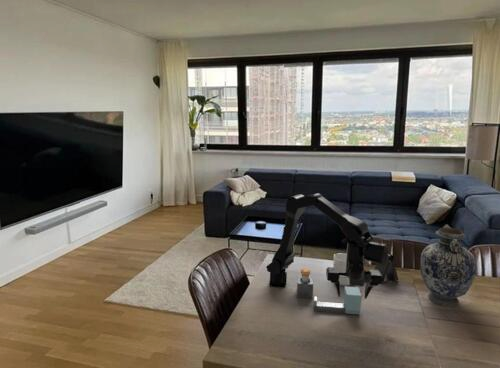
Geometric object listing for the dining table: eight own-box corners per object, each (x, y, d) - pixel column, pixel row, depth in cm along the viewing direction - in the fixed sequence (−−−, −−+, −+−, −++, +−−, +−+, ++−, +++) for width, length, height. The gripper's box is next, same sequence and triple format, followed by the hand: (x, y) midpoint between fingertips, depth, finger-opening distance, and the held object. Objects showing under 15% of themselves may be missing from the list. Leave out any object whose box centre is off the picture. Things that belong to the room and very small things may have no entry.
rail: (313, 310, 128) (314, 300, 128) (313, 306, 131) (313, 296, 131) (359, 314, 127) (359, 303, 126) (357, 309, 130) (358, 299, 129)
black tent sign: (379, 283, 150) (382, 256, 148) (371, 276, 156) (373, 251, 153) (398, 280, 152) (400, 254, 150) (389, 274, 158) (392, 249, 155)
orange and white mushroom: (300, 289, 138) (300, 272, 137) (300, 284, 141) (300, 268, 140) (309, 289, 137) (310, 273, 136) (309, 285, 141) (310, 268, 140)
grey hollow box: (296, 297, 137) (297, 283, 136) (296, 290, 143) (297, 276, 142) (312, 298, 137) (313, 284, 136) (311, 291, 143) (312, 277, 141)
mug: (358, 284, 148) (360, 259, 146) (340, 288, 145) (341, 262, 143) (342, 272, 159) (343, 249, 157) (324, 275, 156) (326, 251, 154)
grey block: (345, 313, 126) (346, 294, 124) (343, 305, 131) (344, 286, 130) (360, 315, 125) (361, 295, 124) (357, 305, 131) (358, 287, 129)
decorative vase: (478, 318, 124) (488, 242, 119) (420, 309, 130) (427, 236, 125) (464, 290, 144) (472, 224, 139) (414, 284, 150) (419, 220, 145)
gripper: (330, 264, 117) (327, 307, 121) (388, 268, 115) (384, 311, 118) (327, 251, 128) (324, 291, 131) (380, 254, 126) (377, 295, 129)
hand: (352, 297), depth 127 cm, fingers open, 9 cm apart
